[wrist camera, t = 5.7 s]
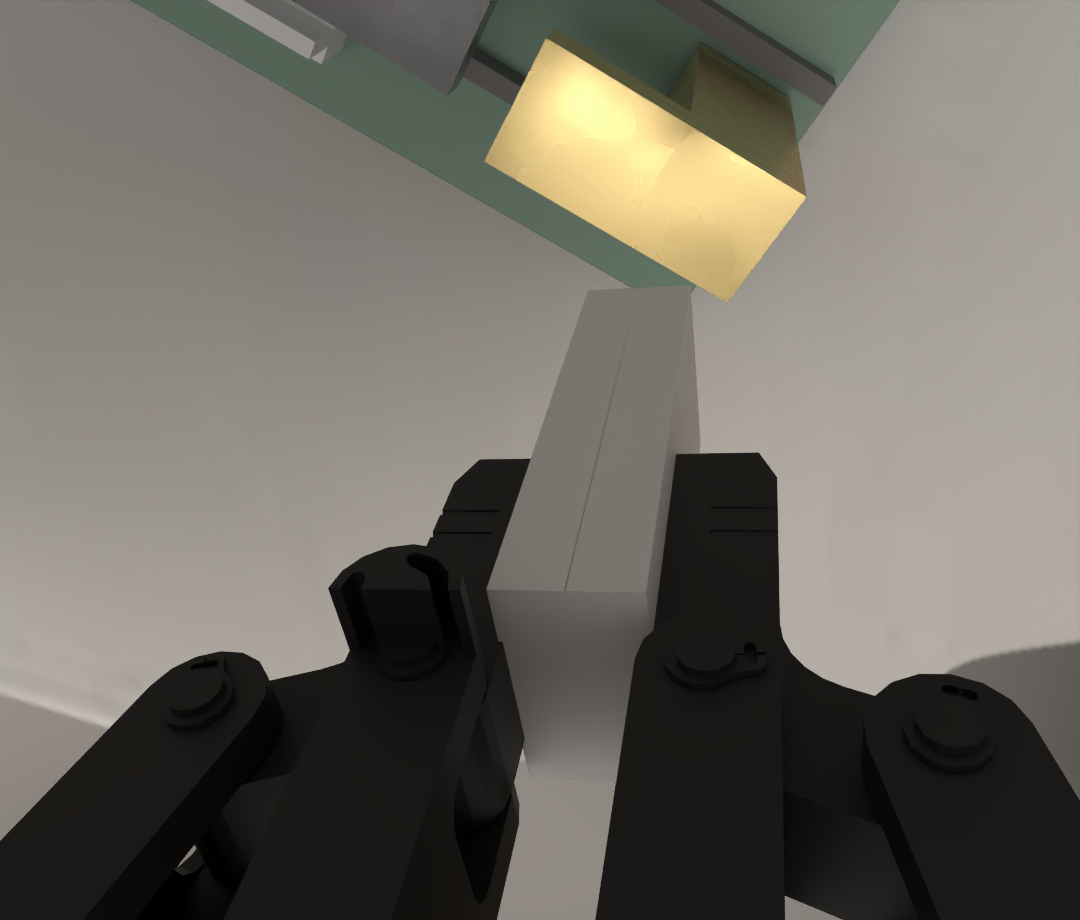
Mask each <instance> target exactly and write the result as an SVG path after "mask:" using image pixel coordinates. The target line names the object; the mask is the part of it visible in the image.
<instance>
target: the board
mask: <svg viewBox="0 0 1080 920" xmlns="http://www.w3.org/2000/svg"><path fill="white" fill-rule="evenodd" d="M131 1H133V2H135V3H136V4H138V5H140V6H141V7H143V8H145V9H147V10H148V11H150V12H152V13H154V14H155V15H157V16H159V17H161V18H162V19H164V20H166V21H168V22H169V23H171V24H173V25H175V26H176V27H178V28H180V29H182V30H183V31H185V32H187V33H189V34H190V35H192V36H194V37H196V38H197V39H199V40H201V41H203V42H204V43H206V44H208V45H209V46H211V47H213V48H215V49H216V50H218V51H220V52H222V53H223V54H225V55H227V56H229V57H230V58H232V59H234V60H236V61H237V62H239V63H241V64H243V65H244V66H246V67H248V68H250V69H251V70H253V71H255V72H257V73H258V74H260V75H262V76H264V77H265V78H267V79H269V80H271V81H272V82H274V83H276V84H277V85H279V86H281V87H283V88H284V89H286V90H288V91H290V92H291V93H293V94H295V95H297V96H298V97H300V98H302V99H304V100H305V101H307V102H309V103H311V104H312V105H314V106H316V107H318V108H319V109H321V110H323V111H325V112H326V113H328V114H330V115H332V116H333V117H335V118H337V119H338V120H340V121H342V122H344V123H345V124H347V125H349V126H351V127H352V128H354V129H356V130H358V131H359V132H361V133H363V134H365V135H366V136H368V137H370V138H372V139H373V140H375V141H377V142H379V143H380V144H382V145H384V146H386V147H387V148H389V149H391V150H393V151H394V152H396V153H398V154H400V155H401V156H403V157H405V158H406V159H408V160H410V161H412V162H413V163H415V164H417V165H419V166H420V167H422V168H424V169H426V170H427V171H429V172H431V173H433V174H434V175H436V176H438V177H440V178H441V179H443V180H445V181H447V182H448V183H450V184H452V185H454V186H455V187H457V188H459V189H461V190H462V191H464V192H466V193H467V194H469V195H471V196H473V197H474V198H476V199H478V200H480V201H481V202H483V203H485V204H487V205H488V206H490V207H492V208H494V209H495V210H497V211H499V212H501V213H502V214H504V215H506V216H508V217H509V218H511V219H513V220H515V221H516V222H518V223H520V224H522V225H523V226H525V227H527V228H529V229H530V230H532V231H534V232H535V233H537V234H539V235H541V236H542V237H544V238H546V239H548V240H549V241H551V242H553V243H555V244H556V245H558V246H560V247H562V248H563V249H565V250H567V251H569V252H570V253H572V254H574V255H576V256H577V257H579V258H581V259H583V260H584V261H586V262H588V263H590V264H591V265H593V266H595V267H596V268H598V269H600V270H602V271H603V272H605V273H607V274H609V275H610V276H612V277H614V278H616V279H617V280H619V281H621V282H623V283H624V284H626V285H628V286H630V287H631V288H646V287H664V286H682V285H690V289H691V292H692V291H693V290H694V288H695V287H696V284H694V283H692V282H691V281H689V280H687V279H686V278H684V277H682V276H680V275H679V274H677V273H675V272H674V271H672V270H670V269H668V268H667V267H665V266H663V265H661V264H660V263H658V262H656V261H655V260H653V259H651V258H649V257H648V256H646V255H644V254H643V253H641V252H639V251H637V250H636V249H634V248H632V247H631V246H629V245H627V244H625V243H624V242H622V241H620V240H618V239H617V238H615V237H613V236H612V235H610V234H608V233H606V232H605V231H603V230H601V229H600V228H598V227H596V226H594V225H593V224H591V223H589V222H588V221H586V220H584V219H582V218H581V217H579V216H577V215H575V214H574V213H572V212H570V211H569V210H567V209H565V208H563V207H562V206H560V205H558V204H557V203H555V202H553V201H551V200H550V199H548V198H546V197H545V196H543V195H541V194H539V193H538V192H536V191H534V190H532V189H531V188H529V187H527V186H526V185H524V184H522V183H520V182H519V181H517V180H515V179H514V178H512V177H510V176H508V175H507V174H505V173H503V172H501V171H500V170H498V169H496V168H495V167H493V166H491V165H489V164H488V163H486V162H484V161H485V159H486V157H487V155H488V153H489V151H490V149H491V147H492V145H493V143H494V141H495V139H496V137H497V135H498V133H499V131H500V129H501V127H502V125H503V123H504V121H505V119H506V117H507V115H508V113H509V111H510V109H511V107H512V105H513V103H514V101H515V99H516V97H517V95H518V93H519V91H520V89H521V87H522V85H523V83H524V81H525V79H526V77H527V75H528V73H529V71H530V69H531V67H532V65H533V63H534V61H535V59H536V57H537V55H538V53H539V51H540V49H541V47H542V45H543V43H544V41H545V39H546V37H547V36H548V35H549V33H550V32H551V30H552V29H553V27H554V28H555V29H557V30H558V31H560V32H562V33H563V34H565V35H567V36H568V37H570V38H571V39H573V40H575V41H576V42H578V43H580V44H581V45H583V46H585V47H586V48H588V49H589V50H591V51H593V52H594V53H596V54H598V55H599V56H601V57H602V58H604V59H606V60H607V61H609V62H611V63H612V64H614V65H615V66H617V67H619V68H620V69H622V70H624V71H625V72H627V73H629V74H630V75H632V76H633V77H635V78H637V79H638V80H640V81H642V82H643V83H645V84H646V85H648V86H650V87H651V88H653V89H655V90H656V91H658V92H659V93H661V94H663V95H664V96H666V97H667V96H668V94H669V93H670V91H671V90H672V88H673V86H674V85H675V83H676V81H677V80H678V78H679V76H680V75H681V73H682V71H683V70H684V68H685V66H686V65H687V63H688V61H689V60H690V58H691V56H692V55H693V53H694V51H695V50H696V48H697V46H698V45H699V43H700V42H701V43H703V44H704V45H706V46H708V47H709V48H711V49H712V50H714V51H716V52H717V53H719V54H720V55H722V56H723V57H725V58H727V59H728V60H730V61H731V62H733V63H735V64H736V65H738V66H739V67H741V68H743V69H744V70H746V71H747V72H749V73H751V74H752V75H754V76H755V77H757V78H759V79H760V80H762V81H763V82H765V83H766V84H768V85H770V86H771V87H773V88H774V89H776V90H778V91H779V92H781V93H782V94H784V95H786V96H787V97H789V98H790V100H791V106H792V112H793V118H794V124H795V130H796V136H797V142H799V141H800V139H801V138H802V137H803V135H804V134H805V132H806V131H807V130H808V128H809V127H810V125H811V124H812V123H813V121H814V120H815V118H816V117H817V116H818V114H819V113H820V111H821V110H822V109H823V107H824V106H825V104H826V103H827V102H828V100H829V99H830V97H831V96H832V95H833V93H834V92H835V90H836V89H837V88H838V86H839V85H840V83H841V82H842V81H843V79H844V78H845V76H846V75H847V74H848V72H849V71H850V69H851V68H852V67H853V65H854V64H855V62H856V61H857V60H858V58H859V57H860V55H861V54H862V52H863V51H864V50H865V48H866V47H867V45H868V44H869V43H870V41H871V40H872V38H873V37H874V36H875V34H876V33H877V31H878V30H879V29H880V27H881V26H882V24H883V23H884V22H885V20H886V19H887V17H888V16H889V15H890V13H891V12H892V10H893V9H894V8H895V6H896V5H897V3H898V2H899V1H900V0H498V2H497V4H496V6H495V8H494V10H493V12H492V15H491V17H490V19H489V21H488V23H487V25H486V28H485V30H484V32H483V34H482V36H481V38H480V41H479V43H478V45H477V47H476V49H475V51H474V54H473V56H472V58H471V60H470V62H469V65H468V67H467V69H466V71H465V73H464V75H463V78H462V80H461V82H460V84H459V86H458V87H457V88H456V89H455V90H453V91H452V92H451V93H450V94H449V95H448V96H446V95H445V94H443V93H441V92H440V91H438V90H437V89H435V88H433V87H432V86H430V85H428V84H427V83H425V82H424V81H422V80H420V79H419V78H417V77H415V76H414V75H412V74H410V73H409V72H407V71H406V70H404V69H402V68H401V67H399V66H397V65H396V64H394V63H393V62H391V61H389V60H388V59H386V58H384V57H383V56H381V55H380V54H378V53H376V52H375V51H373V50H371V49H370V48H368V47H367V46H365V45H363V44H362V43H360V42H358V41H357V40H355V39H354V38H352V37H350V36H349V35H347V34H345V33H344V32H342V31H341V30H339V29H337V28H336V27H334V26H332V25H331V24H329V23H327V22H326V21H324V20H323V19H321V18H319V17H318V16H316V15H314V14H313V13H311V12H310V11H308V10H306V9H305V8H303V7H301V6H300V5H298V4H297V3H295V2H293V1H292V0H131Z"/></svg>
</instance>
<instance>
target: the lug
mask: <svg viewBox="0 0 1080 920" xmlns="http://www.w3.org/2000/svg"><path fill="white" fill-rule="evenodd" d="M484 162H486V163H488V164H489V165H491V166H493V167H495V168H496V169H498V170H500V171H501V172H503V173H505V174H507V175H508V176H510V177H512V178H514V179H515V180H517V181H519V182H520V183H522V184H524V185H526V186H527V187H529V188H531V189H532V190H534V191H536V192H538V193H539V194H541V195H543V196H545V197H546V198H548V199H550V200H551V201H553V202H555V203H557V204H558V205H560V206H562V207H563V208H565V209H567V210H569V211H570V212H572V213H574V214H575V215H577V216H579V217H581V218H582V219H584V220H586V221H588V222H589V223H591V224H593V225H594V226H596V227H598V228H600V229H601V230H603V231H605V232H606V233H608V234H610V235H612V236H613V237H615V238H617V239H618V240H620V241H622V242H624V243H625V244H627V245H629V246H631V247H632V248H634V249H636V250H637V251H639V252H641V253H643V254H644V255H646V256H648V257H649V258H651V259H653V260H655V261H656V262H658V263H660V264H661V265H663V266H665V267H667V268H668V269H670V270H672V271H674V272H675V273H677V274H679V275H680V276H682V277H684V278H686V279H687V280H689V281H691V282H692V283H694V284H696V285H698V286H699V287H701V288H703V289H705V290H706V291H708V292H710V293H711V294H713V295H715V296H717V297H718V298H720V299H722V300H723V301H725V302H727V303H728V301H729V300H730V299H731V297H732V296H733V295H734V293H735V292H736V291H737V289H738V288H739V287H740V285H741V284H742V283H743V281H744V280H745V279H746V277H747V276H748V275H749V273H750V272H751V271H752V269H753V268H754V267H755V265H756V264H757V263H758V261H759V260H760V259H761V257H762V256H763V254H764V253H765V252H766V250H767V249H768V248H769V246H770V245H771V244H772V242H773V241H774V240H775V238H776V237H777V236H778V234H779V233H780V232H781V230H782V229H783V228H784V226H785V225H786V224H787V222H788V221H789V220H790V218H791V217H792V216H793V214H794V213H795V212H796V210H797V209H798V208H799V206H800V205H801V204H802V202H803V201H804V200H805V198H806V191H805V185H804V179H803V173H802V167H801V160H800V154H799V148H798V142H797V136H796V130H795V124H794V118H793V112H792V106H791V100H790V98H789V97H787V96H786V95H784V94H782V93H781V92H779V91H778V90H776V89H774V88H773V87H771V86H770V85H768V84H766V83H765V82H763V81H762V80H760V79H759V78H757V77H755V76H754V75H752V74H751V73H749V72H747V71H746V70H744V69H743V68H741V67H739V66H738V65H736V64H735V63H733V62H731V61H730V60H728V59H727V58H725V57H723V56H722V55H720V54H719V53H717V52H716V51H714V50H712V49H711V48H709V47H708V46H706V45H704V44H703V43H701V42H700V43H699V45H698V46H697V48H696V50H695V51H694V53H693V55H692V56H691V58H690V60H689V61H688V63H687V65H686V66H685V68H684V70H683V71H682V73H681V75H680V76H679V78H678V80H677V81H676V83H675V85H674V86H673V88H672V90H671V91H670V93H669V94H668V96H667V97H666V96H664V95H663V94H661V93H659V92H658V91H656V90H655V89H653V88H651V87H650V86H648V85H646V84H645V83H643V82H642V81H640V80H638V79H637V78H635V77H633V76H632V75H630V74H629V73H627V72H625V71H624V70H622V69H620V68H619V67H617V66H615V65H614V64H612V63H611V62H609V61H607V60H606V59H604V58H602V57H601V56H599V55H598V54H596V53H594V52H593V51H591V50H589V49H588V48H586V47H585V46H583V45H581V44H580V43H578V42H576V41H575V40H573V39H571V38H570V37H568V36H567V35H565V34H563V33H562V32H560V31H558V30H557V29H555V28H554V27H553V29H552V30H551V32H550V33H549V35H548V36H547V37H546V39H545V41H544V43H543V45H542V47H541V49H540V51H539V53H538V55H537V57H536V59H535V61H534V63H533V65H532V67H531V69H530V71H529V73H528V75H527V77H526V79H525V81H524V83H523V85H522V87H521V89H520V91H519V93H518V95H517V97H516V99H515V101H514V103H513V105H512V107H511V109H510V111H509V113H508V115H507V117H506V119H505V121H504V123H503V125H502V127H501V129H500V131H499V133H498V135H497V137H496V139H495V141H494V143H493V145H492V147H491V149H490V151H489V153H488V155H487V157H486V159H485V161H484Z"/></svg>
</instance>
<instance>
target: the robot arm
mask: <svg viewBox="0 0 1080 920" xmlns="http://www.w3.org/2000/svg"><path fill="white" fill-rule="evenodd" d="M699 451H700V430H699V415H698V399H697V383H696V367H695V352H694V336H693V320H692V304H691V289H690V285H682V286H664V287H646V288H628V289H610V290H592V291H588V293H587V296H586V299H585V302H584V305H583V308H582V310H581V313H580V316H579V319H578V322H577V325H576V328H575V331H574V334H573V337H572V340H571V343H570V346H569V349H568V352H567V354H566V357H565V360H564V363H563V366H562V369H561V372H560V375H559V378H558V381H557V384H556V387H555V390H554V393H553V396H552V398H551V401H550V404H549V407H548V410H547V413H546V416H545V419H544V422H543V425H542V428H541V431H540V434H539V437H538V440H537V442H536V445H535V448H534V451H533V454H532V457H531V459H486V460H479V461H478V462H477V463H475V464H474V465H473V466H472V467H471V468H470V469H469V470H468V471H467V472H466V473H465V474H464V475H463V476H461V477H460V478H459V479H458V480H457V481H456V482H455V483H454V485H453V487H452V489H451V492H450V494H449V496H448V498H447V501H446V503H445V505H444V508H443V515H440V517H439V519H438V521H437V524H436V526H435V528H434V530H433V537H430V540H429V542H428V544H427V546H421V545H414V544H413V545H404V546H396V547H388V548H385V549H383V550H380V551H377V552H374V553H372V554H369V555H366V556H364V557H362V558H360V559H359V560H358V561H356V562H355V563H353V564H352V565H350V566H349V567H347V568H346V569H344V570H343V571H342V572H341V573H340V574H339V575H338V577H337V578H336V579H335V580H334V582H333V583H332V584H331V585H330V587H329V588H328V589H329V592H330V595H331V598H332V600H333V603H334V606H335V609H336V612H337V615H338V618H339V620H340V623H341V626H342V629H343V632H344V635H345V637H346V640H347V643H348V646H349V649H350V651H349V653H348V656H347V658H346V660H345V662H343V663H340V664H337V665H334V666H330V667H327V668H324V669H321V670H316V671H312V672H307V673H302V674H298V675H293V676H289V677H284V678H280V679H275V680H271V681H269V679H268V676H267V674H266V673H265V671H264V669H263V667H262V665H261V663H260V662H259V661H258V660H256V659H254V658H252V657H250V656H248V655H246V654H244V653H237V652H223V651H221V652H216V653H212V654H207V655H203V656H198V657H195V658H193V659H191V660H189V661H187V662H185V663H183V664H181V665H178V666H176V667H174V668H172V669H171V670H169V671H168V672H167V673H166V674H165V675H163V676H162V677H161V678H160V679H158V680H157V681H156V682H155V683H153V684H152V685H151V686H150V687H149V688H148V689H147V690H146V691H145V692H144V693H143V694H142V695H141V696H140V697H139V698H138V699H137V700H136V701H135V702H134V703H133V704H132V705H131V706H130V707H129V709H128V710H127V711H126V712H125V713H124V714H123V715H122V716H121V717H120V718H119V719H118V720H117V721H116V722H115V723H114V724H113V725H112V726H111V727H110V728H109V729H108V730H107V731H106V732H105V733H104V734H103V735H102V737H100V738H99V740H98V741H97V742H96V743H95V744H94V745H93V746H92V747H91V748H90V749H89V750H88V751H87V752H86V753H85V754H84V755H83V756H82V757H81V758H80V759H79V760H78V761H77V762H76V763H75V764H74V765H73V766H72V767H71V768H70V770H69V771H67V773H66V774H65V775H64V776H63V777H62V778H61V779H60V780H59V781H58V782H57V783H56V784H55V785H54V786H53V787H52V788H51V789H50V790H49V791H48V792H47V793H46V794H45V795H44V796H43V797H42V798H41V799H40V800H39V802H37V804H36V805H35V806H34V807H33V808H32V809H31V810H30V811H29V812H28V813H27V814H26V815H25V816H24V817H23V818H22V819H21V820H20V821H19V822H18V823H17V824H16V825H15V826H14V827H13V828H12V829H11V830H10V831H9V832H8V833H7V834H6V836H5V837H4V838H3V839H2V840H1V841H0V920H497V916H498V912H499V908H500V903H501V899H502V895H503V890H504V886H505V882H506V877H507V873H508V869H509V864H510V860H511V856H512V851H513V847H514V843H515V838H516V834H517V829H518V825H519V801H518V797H517V793H516V789H515V785H514V780H515V776H516V772H517V768H518V764H519V760H520V756H521V752H522V748H523V750H524V754H525V758H526V763H527V767H528V771H529V776H530V777H536V778H550V779H566V780H581V781H596V782H597V781H598V782H612V783H616V786H615V793H614V799H613V806H612V813H611V820H610V826H609V834H608V839H607V846H606V853H605V860H604V866H603V873H602V879H601V887H600V893H599V900H598V906H597V913H596V920H785V899H784V898H785V897H784V896H787V897H790V898H792V899H795V900H797V901H799V902H802V903H804V904H807V905H809V906H812V907H814V908H816V909H819V910H821V911H824V912H826V913H828V914H831V915H834V916H836V917H838V918H840V919H843V920H1080V800H1079V799H1078V797H1077V795H1076V794H1075V792H1074V790H1073V789H1072V787H1071V785H1070V784H1069V782H1068V780H1067V779H1066V777H1065V776H1064V774H1063V772H1062V771H1061V769H1060V767H1059V766H1058V764H1057V763H1056V761H1055V759H1054V758H1053V756H1052V754H1051V753H1050V751H1049V750H1048V748H1047V746H1046V744H1045V743H1044V741H1043V740H1042V738H1041V736H1040V735H1039V733H1038V732H1037V730H1036V728H1035V726H1034V725H1033V723H1032V722H1031V721H1030V720H1029V719H1028V718H1027V717H1026V715H1025V714H1024V713H1023V712H1022V711H1021V710H1020V709H1019V708H1018V707H1017V705H1016V704H1015V703H1014V702H1013V701H1012V700H1011V699H1009V698H1007V697H1006V696H1004V695H1002V694H1001V693H999V692H997V691H995V690H994V689H992V688H990V687H989V686H987V685H985V684H984V683H980V682H976V681H973V680H970V679H966V678H962V677H959V676H955V675H951V674H918V675H914V676H911V677H908V678H905V679H901V680H898V681H895V682H892V683H890V684H889V685H888V686H887V687H885V688H884V689H883V690H882V691H881V692H879V693H878V694H877V695H876V696H873V695H870V694H866V693H863V692H860V691H856V690H853V689H850V688H846V687H843V686H841V685H838V684H836V683H833V682H831V681H828V680H826V679H823V678H821V677H820V676H818V675H817V674H815V673H814V672H812V671H810V670H809V669H807V668H806V667H804V666H803V665H802V664H801V663H800V662H799V661H798V660H797V659H796V658H795V657H794V656H793V655H792V654H791V652H790V650H789V649H788V647H787V645H786V643H785V641H784V640H783V637H782V632H781V627H780V608H779V556H778V504H777V477H776V476H775V474H774V473H773V471H772V470H771V469H770V467H769V466H768V465H767V463H766V462H765V460H764V459H763V458H762V456H761V455H760V454H759V453H707V454H699ZM194 845H195V847H196V850H195V852H194V853H193V854H192V855H191V856H190V857H189V858H188V859H187V860H186V861H184V862H183V863H182V864H181V865H180V866H178V865H179V863H180V862H181V861H182V860H183V858H184V857H185V856H186V855H187V853H188V852H189V851H190V849H191V848H192V847H193V846H194Z"/></svg>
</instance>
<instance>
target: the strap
mask: <svg viewBox="0 0 1080 920" xmlns="http://www.w3.org/2000/svg"><path fill="white" fill-rule="evenodd" d="M292 1H293V2H295V3H297V4H298V5H300V6H301V7H303V8H305V9H306V10H308V11H310V12H311V13H313V14H314V15H316V16H318V17H319V18H321V19H323V20H324V21H326V22H327V23H329V24H331V25H332V26H334V27H336V28H337V29H339V30H341V31H342V32H344V33H345V34H347V35H349V36H350V37H352V38H354V39H355V40H357V41H358V42H360V43H362V44H363V45H365V46H367V47H368V48H370V49H371V50H373V51H375V52H376V53H378V54H380V55H381V56H383V57H384V58H386V59H388V60H389V61H391V62H393V63H394V64H396V65H397V66H399V67H401V68H402V69H404V70H406V71H407V72H409V73H410V74H412V75H414V76H415V77H417V78H419V79H420V80H422V81H424V82H425V83H427V84H428V85H430V86H432V87H433V88H435V89H437V90H438V91H440V92H441V93H443V94H445V95H446V96H448V95H449V94H450V93H451V92H452V91H453V90H455V89H456V88H457V87H458V86H459V84H460V82H461V80H462V78H463V75H464V73H465V71H466V69H467V67H468V65H469V62H470V60H471V58H472V56H473V54H474V51H475V49H476V47H477V45H478V43H479V41H480V38H481V36H482V34H483V32H484V30H485V28H486V25H487V23H488V21H489V19H490V17H491V15H492V12H493V10H494V8H495V6H496V4H497V2H498V0H292Z"/></svg>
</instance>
